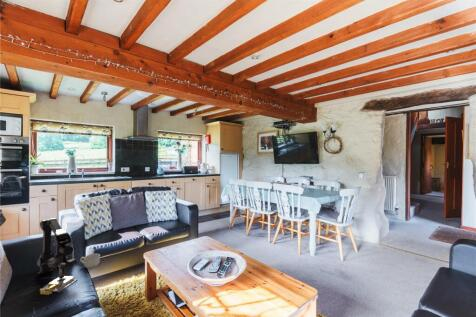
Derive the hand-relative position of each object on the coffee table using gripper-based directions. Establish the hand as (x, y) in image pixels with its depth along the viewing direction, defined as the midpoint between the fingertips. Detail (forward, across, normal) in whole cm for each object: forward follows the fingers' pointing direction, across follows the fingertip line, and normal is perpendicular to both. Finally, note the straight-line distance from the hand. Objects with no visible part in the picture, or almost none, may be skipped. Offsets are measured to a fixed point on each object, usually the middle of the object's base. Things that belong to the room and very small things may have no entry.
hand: (61, 274), depth 157 cm
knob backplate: (+6, 0, -4) cm, 7 cm away
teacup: (+6, +1, +25) cm, 26 cm away
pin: (+2, 0, 0) cm, 2 cm away
